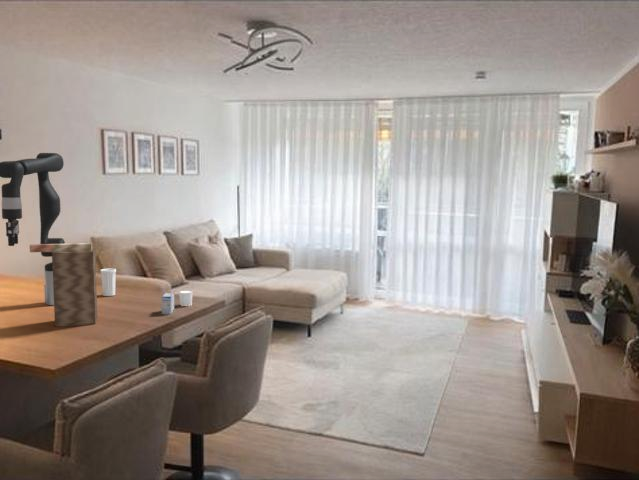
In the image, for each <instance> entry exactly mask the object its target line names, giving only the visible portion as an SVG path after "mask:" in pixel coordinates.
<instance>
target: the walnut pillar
mask: <svg viewBox="0 0 639 480" xmlns="http://www.w3.org/2000/svg"><path fill="white" fill-rule="evenodd" d="M51 258H52V259H51V262H52V266H53V290H54V305H53V310H54V327H72V326H73V327H74V326H87V325H97V324H96V323H97V320H98V297H97V296H98V293H97V290H98V289H97V267H96V266H97V265H96V264H97V261H96V260H97V259H96V248H92V251H65V252H53V253H52V257H51Z"/></svg>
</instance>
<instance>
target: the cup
mask: <svg viewBox="0 0 639 480" xmlns="http://www.w3.org/2000/svg"><path fill="white" fill-rule="evenodd" d="M99 271H100V277H101V278H100V279H101V290H102V296H104V297H112V296H115V295H116V279H117V278H116V273H117V269H116V268H113V267H112V268H111V267H109V268H108V267H107V268H102V269H100V270H99Z"/></svg>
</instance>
